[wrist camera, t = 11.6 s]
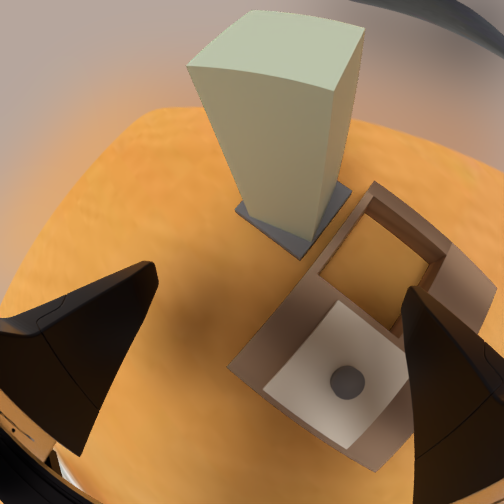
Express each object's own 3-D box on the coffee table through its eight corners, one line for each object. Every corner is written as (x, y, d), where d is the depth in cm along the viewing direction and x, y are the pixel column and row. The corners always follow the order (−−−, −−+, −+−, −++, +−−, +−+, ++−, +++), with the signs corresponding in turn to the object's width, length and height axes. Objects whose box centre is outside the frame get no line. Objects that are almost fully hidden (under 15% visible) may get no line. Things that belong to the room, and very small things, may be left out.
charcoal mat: (299, 260, 17) (300, 258, 17) (236, 212, 19) (234, 209, 18) (350, 194, 18) (352, 190, 17) (288, 155, 19) (288, 150, 19)
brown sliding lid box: (366, 456, 13) (381, 484, 9) (236, 361, 16) (218, 371, 12) (477, 293, 14) (511, 283, 10) (365, 198, 18) (380, 167, 14)
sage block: (311, 242, 17) (333, 91, 5) (249, 216, 18) (185, 65, 6) (335, 186, 18) (365, 28, 6) (277, 164, 19) (251, 9, 7)
